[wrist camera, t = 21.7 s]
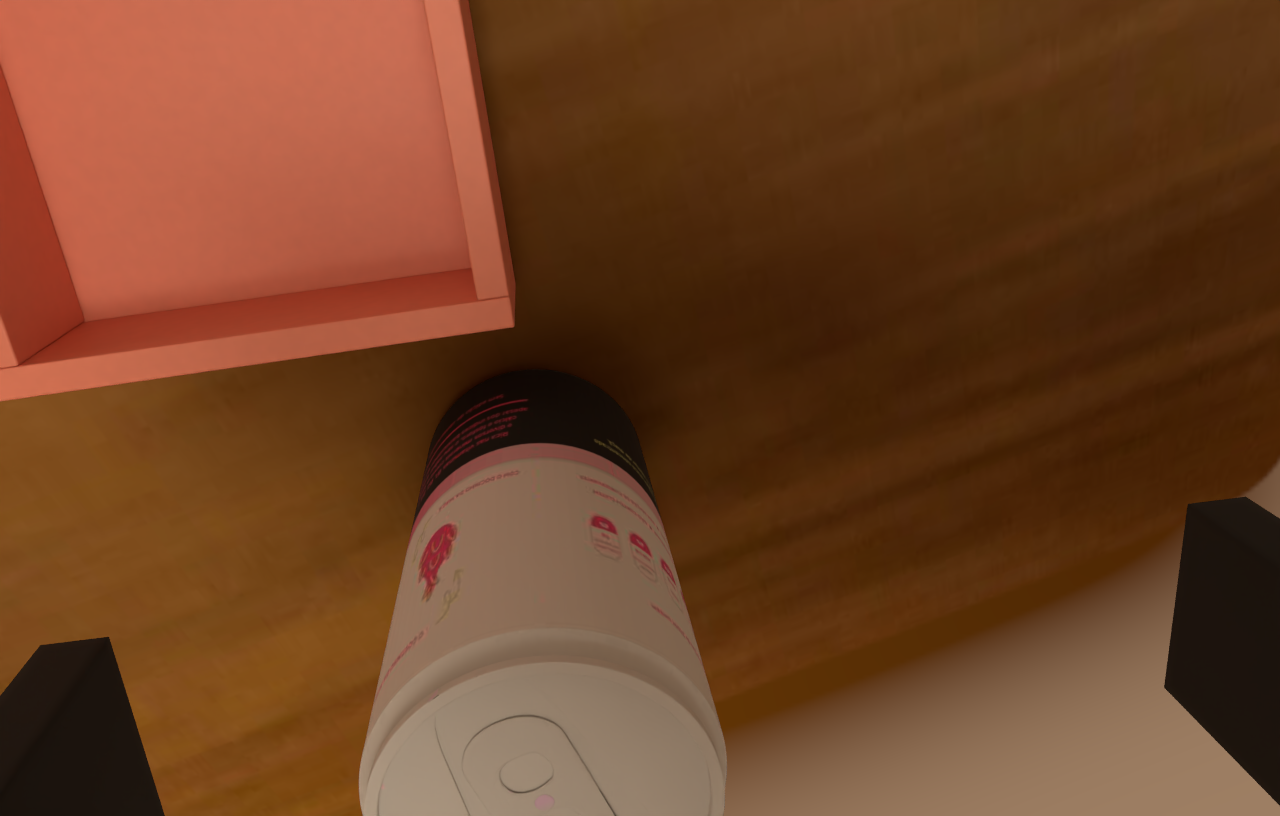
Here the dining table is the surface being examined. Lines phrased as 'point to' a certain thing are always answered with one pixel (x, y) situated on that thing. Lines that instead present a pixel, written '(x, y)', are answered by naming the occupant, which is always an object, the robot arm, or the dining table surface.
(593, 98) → the dining table surface
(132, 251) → the can bin
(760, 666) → the dining table surface
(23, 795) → the robot arm
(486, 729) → the beverage can
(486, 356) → the dining table surface
